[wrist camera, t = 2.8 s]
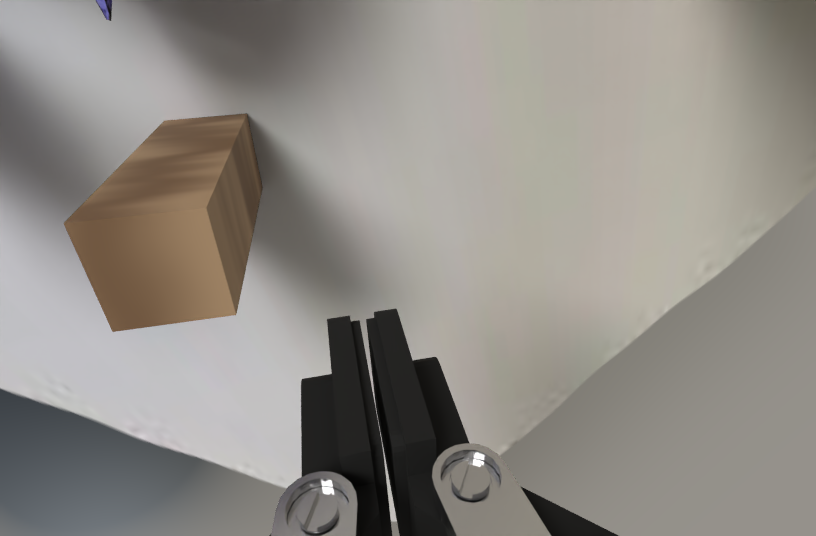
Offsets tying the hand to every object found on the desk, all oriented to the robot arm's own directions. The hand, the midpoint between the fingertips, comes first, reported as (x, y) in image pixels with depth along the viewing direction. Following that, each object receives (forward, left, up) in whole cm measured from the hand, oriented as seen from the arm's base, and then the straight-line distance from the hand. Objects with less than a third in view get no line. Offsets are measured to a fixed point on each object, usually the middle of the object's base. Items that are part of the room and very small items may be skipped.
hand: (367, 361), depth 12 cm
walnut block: (+6, 0, -17) cm, 18 cm away
